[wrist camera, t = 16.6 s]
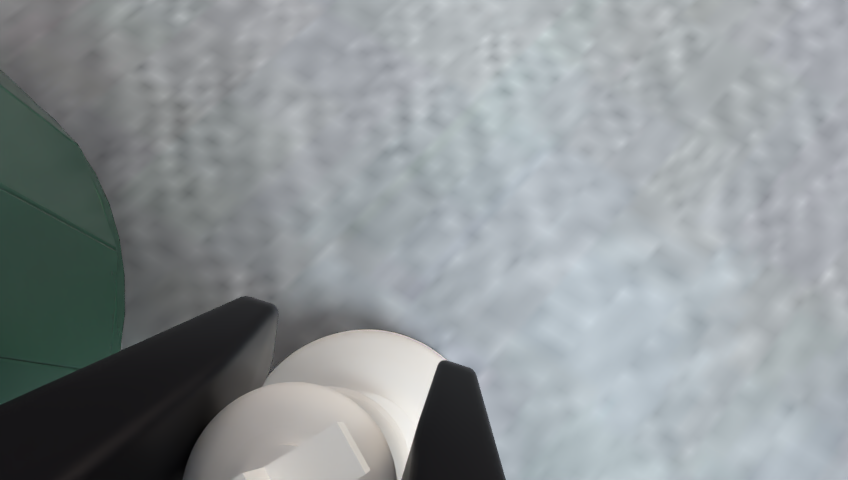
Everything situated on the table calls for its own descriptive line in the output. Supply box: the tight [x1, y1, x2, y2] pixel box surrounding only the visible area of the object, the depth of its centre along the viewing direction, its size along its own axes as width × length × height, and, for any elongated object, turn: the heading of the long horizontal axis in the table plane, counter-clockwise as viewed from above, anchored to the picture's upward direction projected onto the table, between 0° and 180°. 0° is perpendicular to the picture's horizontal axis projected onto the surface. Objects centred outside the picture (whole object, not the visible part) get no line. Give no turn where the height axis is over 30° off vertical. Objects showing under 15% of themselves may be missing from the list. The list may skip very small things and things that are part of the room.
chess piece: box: [183, 329, 446, 480], centre depth 10 cm, size 5×5×10 cm
